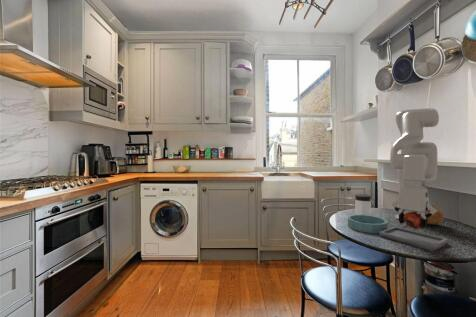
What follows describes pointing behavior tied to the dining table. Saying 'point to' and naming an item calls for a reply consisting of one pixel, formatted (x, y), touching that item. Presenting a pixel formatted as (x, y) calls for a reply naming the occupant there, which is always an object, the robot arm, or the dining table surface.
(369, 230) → the teal polygonal ring
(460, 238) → the dining table surface
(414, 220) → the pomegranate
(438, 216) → the onion
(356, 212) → the jar
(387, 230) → the tray
